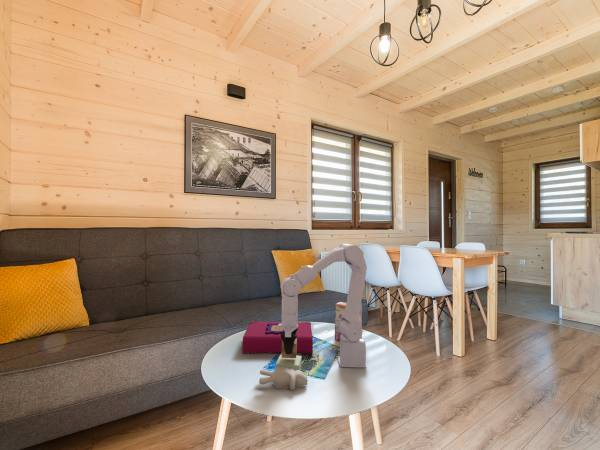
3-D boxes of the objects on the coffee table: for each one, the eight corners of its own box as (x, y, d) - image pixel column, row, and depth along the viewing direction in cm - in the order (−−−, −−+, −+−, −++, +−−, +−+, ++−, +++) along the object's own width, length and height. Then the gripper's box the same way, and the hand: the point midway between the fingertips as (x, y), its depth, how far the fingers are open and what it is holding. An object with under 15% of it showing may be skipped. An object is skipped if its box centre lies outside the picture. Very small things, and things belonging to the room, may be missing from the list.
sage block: (301, 365, 114) (301, 355, 114) (299, 375, 106) (299, 365, 106) (280, 364, 115) (280, 354, 115) (275, 374, 107) (276, 364, 107)
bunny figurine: (309, 379, 95) (260, 375, 93) (307, 396, 95) (258, 392, 93) (305, 365, 104) (261, 361, 103) (303, 381, 104) (259, 377, 103)
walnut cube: (296, 352, 113) (296, 338, 113) (296, 358, 108) (296, 343, 108) (282, 352, 113) (283, 338, 113) (281, 357, 108) (281, 343, 108)
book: (313, 355, 123) (313, 336, 123) (241, 355, 122) (242, 336, 122) (310, 337, 144) (310, 320, 144) (249, 336, 143) (250, 320, 143)
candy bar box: (334, 340, 138) (334, 303, 138) (338, 337, 143) (339, 301, 143) (357, 345, 132) (358, 307, 132) (362, 342, 136) (362, 304, 137)
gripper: (280, 306, 118) (280, 342, 118) (276, 317, 103) (275, 358, 103) (299, 307, 118) (298, 343, 118) (297, 318, 103) (296, 359, 103)
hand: (289, 350), depth 110 cm, fingers closed on walnut cube, 5 cm apart
